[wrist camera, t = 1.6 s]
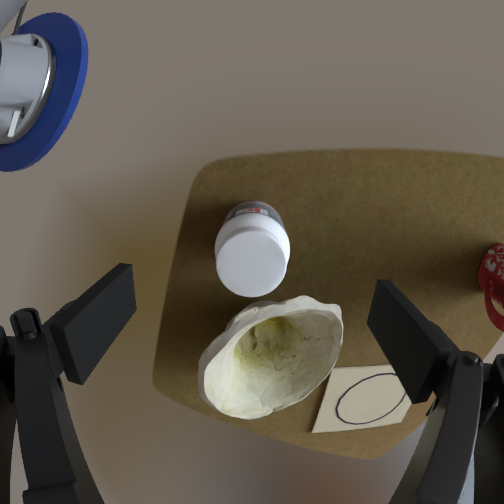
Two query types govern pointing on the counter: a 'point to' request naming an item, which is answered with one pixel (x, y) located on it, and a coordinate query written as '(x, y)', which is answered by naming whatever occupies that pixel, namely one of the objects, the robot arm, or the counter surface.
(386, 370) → the beige flat square sheet
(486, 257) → the mug
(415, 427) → the counter surface
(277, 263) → the pill bottle
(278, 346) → the bowl
